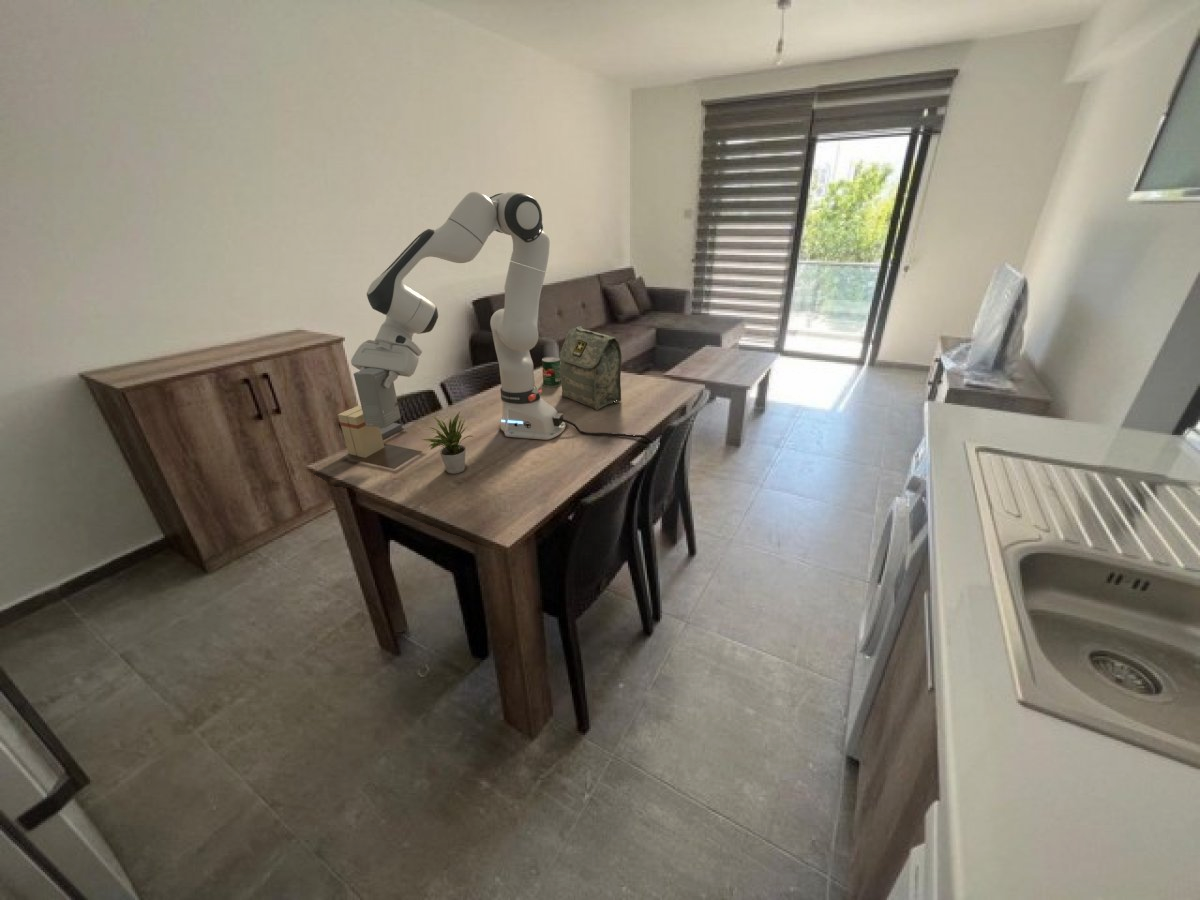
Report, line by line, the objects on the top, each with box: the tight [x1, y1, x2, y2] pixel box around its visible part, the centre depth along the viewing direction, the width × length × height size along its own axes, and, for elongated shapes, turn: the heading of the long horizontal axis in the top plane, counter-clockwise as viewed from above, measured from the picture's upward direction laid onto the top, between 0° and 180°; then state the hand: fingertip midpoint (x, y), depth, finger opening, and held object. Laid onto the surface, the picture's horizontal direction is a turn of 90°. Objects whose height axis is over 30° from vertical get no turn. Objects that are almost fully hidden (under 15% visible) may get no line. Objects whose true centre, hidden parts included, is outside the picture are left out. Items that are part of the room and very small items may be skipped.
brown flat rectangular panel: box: [342, 443, 423, 470], centre depth 145 cm, size 20×12×1 cm, turn 68°
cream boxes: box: [337, 405, 385, 458], centre depth 144 cm, size 7×8×13 cm
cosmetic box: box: [353, 368, 402, 429], centre depth 136 cm, size 8×7×16 cm
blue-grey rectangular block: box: [380, 422, 404, 441], centre depth 158 cm, size 4×10×3 cm, turn 158°
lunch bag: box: [558, 325, 622, 411], centre depth 183 cm, size 22×16×27 cm
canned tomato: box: [541, 356, 561, 388], centre depth 205 cm, size 8×8×11 cm
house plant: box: [422, 411, 474, 475], centre depth 136 cm, size 14×14×16 cm
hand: (373, 385), depth 134 cm, fingers closed on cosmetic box, 7 cm apart
